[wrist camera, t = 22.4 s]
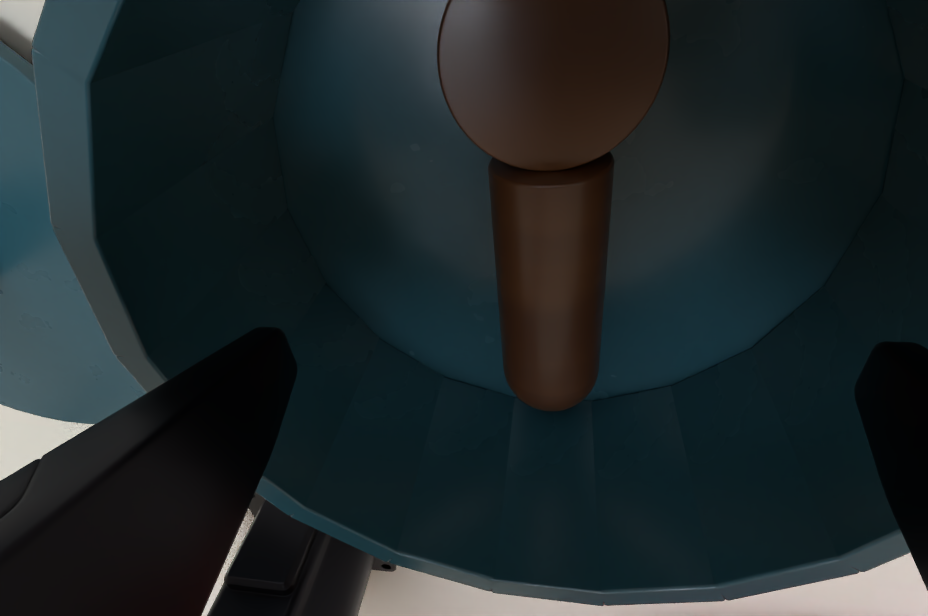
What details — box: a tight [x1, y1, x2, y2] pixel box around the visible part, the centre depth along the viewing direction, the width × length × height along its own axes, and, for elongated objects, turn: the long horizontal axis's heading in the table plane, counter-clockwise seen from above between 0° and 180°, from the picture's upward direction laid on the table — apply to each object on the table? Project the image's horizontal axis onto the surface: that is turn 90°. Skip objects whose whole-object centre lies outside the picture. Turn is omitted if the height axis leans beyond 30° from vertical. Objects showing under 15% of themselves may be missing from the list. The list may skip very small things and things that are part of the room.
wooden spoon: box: [437, 0, 670, 411], centre depth 12 cm, size 11×4×3 cm, turn 6°
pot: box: [31, 0, 928, 606], centre depth 10 cm, size 15×16×6 cm
